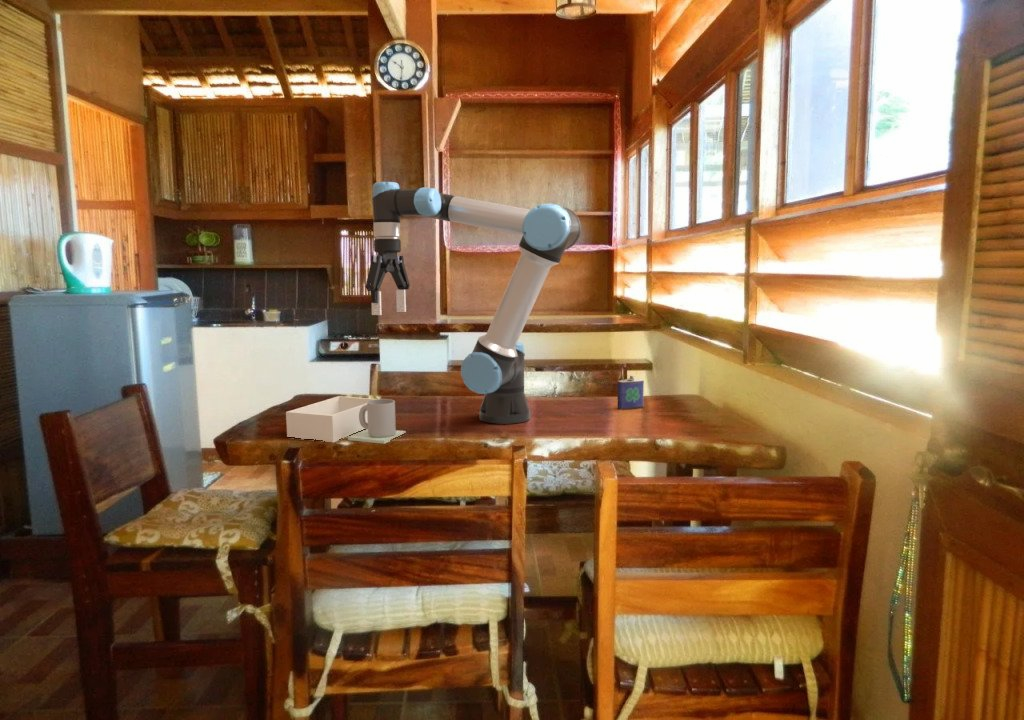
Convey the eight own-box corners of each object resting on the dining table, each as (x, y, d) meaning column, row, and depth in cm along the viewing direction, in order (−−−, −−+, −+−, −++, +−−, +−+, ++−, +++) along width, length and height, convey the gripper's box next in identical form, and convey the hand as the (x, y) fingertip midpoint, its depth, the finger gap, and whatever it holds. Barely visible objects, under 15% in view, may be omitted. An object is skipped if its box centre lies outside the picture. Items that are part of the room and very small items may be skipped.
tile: (405, 433, 185) (405, 431, 185) (384, 443, 175) (384, 440, 175) (370, 430, 189) (370, 427, 189) (348, 440, 179) (347, 437, 179)
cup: (389, 438, 177) (388, 404, 176) (353, 436, 179) (352, 403, 178) (399, 432, 184) (398, 399, 183) (365, 430, 186) (364, 398, 185)
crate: (381, 422, 199) (381, 399, 198) (333, 442, 177) (332, 415, 176) (339, 419, 204) (338, 396, 203) (287, 437, 182) (285, 412, 181)
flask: (640, 406, 220) (641, 373, 219) (645, 408, 218) (646, 374, 216) (615, 408, 217) (616, 375, 215) (620, 410, 214) (620, 376, 213)
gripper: (398, 240, 207) (399, 310, 209) (350, 237, 183) (353, 315, 186) (420, 239, 204) (421, 310, 207) (374, 236, 181) (377, 316, 184)
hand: (389, 313), depth 197 cm, fingers open, 13 cm apart
